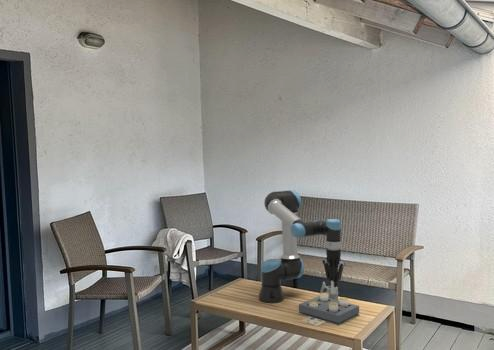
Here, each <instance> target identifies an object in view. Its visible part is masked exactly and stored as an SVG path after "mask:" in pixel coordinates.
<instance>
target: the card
mask: <svg viewBox="0 0 494 350" xmlns="http://www.w3.org/2000/svg"><path fill="white" fill-rule="evenodd" d="M301 321H302V323H306V324H309V325H312V326H316V327H320V326H322V325H324V324H326V323H327V322H326V321H323V320H320V319H316V318H313V317H310V316H308V317H307V318H305V319H302V320H301Z"/></svg>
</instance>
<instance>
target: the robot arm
mask: <svg viewBox="0 0 494 350" xmlns="http://www.w3.org/2000/svg"><path fill="white" fill-rule="evenodd" d="M302 202H303V201H302V197H301V195H300V193H299V192H298V191H296V190H282V191H281V190H280V191H278V190H277V191H276V190H275V191H272V192H269V193H268V194H267V195H266V197H265V198H264V203H263V204H264V207H265V210H266V211H267V212H268V213H270V214H271V215H274V216H275V217H277V219H279V220H281V228H282V229H281V231H282V232H281V234H282V251H283V252H282V255H281V257H280V259H279V258H269V259H267V260H264V261H263V262H262V263H261V269H260V270H261V287H260V291H259V295H258V300H259V301H261V302H263V303H267V304H268V303H269V304H273V303H274V304H275V303H281V302H283V301H285V295H284V294H285V293H284V292H283V288H282V281H288V280H296V279H298V278H301V277H302V276H303V275H304V272H305V264H304V260H303V259H302V258H301V256H300V255H299V254H298V240H297V238H306V237H313V236H314V237H315V236H325V237H326V240H325V241H326V242H325V243H326V244H325V245H326V249H325V251H326V252H325V253H326V254H325V256H326V258H325V259H324V260H322V264H323V266H324V272H325V278H326V279H327V280H329V286H331V293H336V287H338V281H340V280H342V275H343V270H344V267H345V266H346V263H345V262H343V261H342V259H341V256H342V255H341V254H342V249H341V247H342V242H341V241H342V239H341V238H342V237H341V236H342V235H341V234H342V233H341V232H342V230H341V229H342V226H341V220H340V219H338V218H337V219H336V218H328V219H326V220H322V219H316V220H314V221H304V220H302V219H301V218H300V217H299V216H298V215H297V214H298V213H299V209H301V207H302Z"/></svg>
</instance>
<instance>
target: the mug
mask: <svg viewBox="0 0 494 350" xmlns="http://www.w3.org/2000/svg"><path fill="white" fill-rule="evenodd" d="M325 289H326V291H325V292H324V290H325ZM319 291H320V293H328V298H331V299H335V300H339V289H338V286H337V287H336V293H331V286H330V285H328V286H327V285H326V282H325V281H322V285H321V287H320V290H319ZM320 293H319V294H320Z"/></svg>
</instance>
